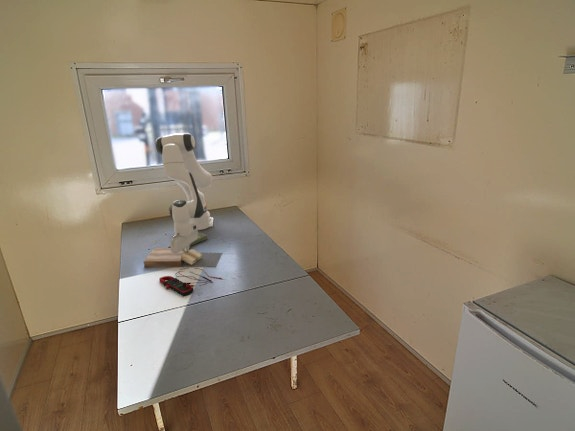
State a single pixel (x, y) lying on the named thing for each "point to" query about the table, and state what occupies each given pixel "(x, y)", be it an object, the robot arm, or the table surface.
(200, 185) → the robot arm
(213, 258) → the mat
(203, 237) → the handheld radio
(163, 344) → the table surface
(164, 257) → the platform
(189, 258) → the tile
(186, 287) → the digital clamp meter
